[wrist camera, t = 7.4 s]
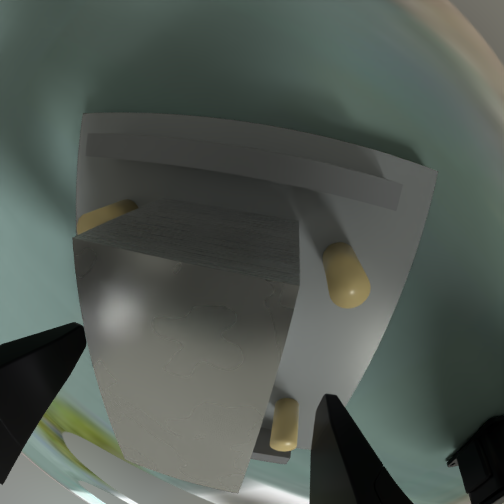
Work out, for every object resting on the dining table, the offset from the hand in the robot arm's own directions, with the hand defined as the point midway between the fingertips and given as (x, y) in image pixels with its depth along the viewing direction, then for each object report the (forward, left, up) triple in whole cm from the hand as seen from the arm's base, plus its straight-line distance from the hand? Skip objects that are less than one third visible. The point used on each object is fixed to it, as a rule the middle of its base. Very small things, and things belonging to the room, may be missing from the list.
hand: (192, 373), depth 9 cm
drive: (0, 0, -3) cm, 3 cm away
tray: (0, 0, -4) cm, 4 cm away
